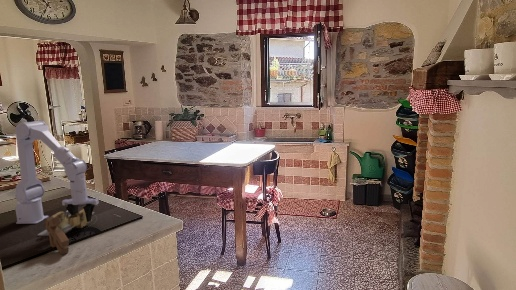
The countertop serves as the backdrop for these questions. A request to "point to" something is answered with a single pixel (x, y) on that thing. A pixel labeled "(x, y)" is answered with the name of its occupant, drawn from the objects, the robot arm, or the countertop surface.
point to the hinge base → (62, 219)
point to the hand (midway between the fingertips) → (82, 221)
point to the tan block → (78, 219)
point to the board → (64, 229)
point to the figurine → (57, 235)
